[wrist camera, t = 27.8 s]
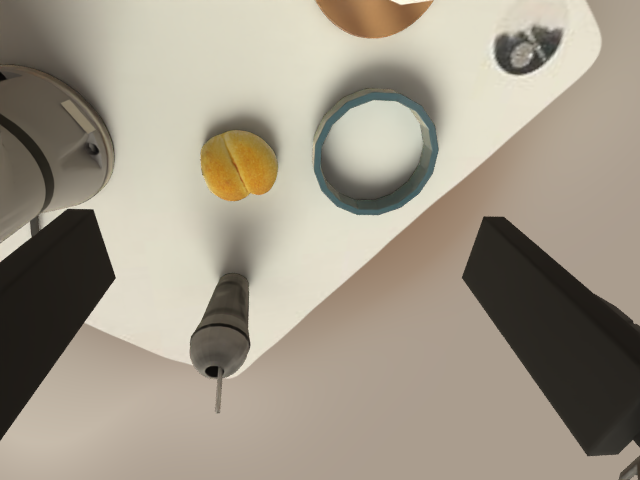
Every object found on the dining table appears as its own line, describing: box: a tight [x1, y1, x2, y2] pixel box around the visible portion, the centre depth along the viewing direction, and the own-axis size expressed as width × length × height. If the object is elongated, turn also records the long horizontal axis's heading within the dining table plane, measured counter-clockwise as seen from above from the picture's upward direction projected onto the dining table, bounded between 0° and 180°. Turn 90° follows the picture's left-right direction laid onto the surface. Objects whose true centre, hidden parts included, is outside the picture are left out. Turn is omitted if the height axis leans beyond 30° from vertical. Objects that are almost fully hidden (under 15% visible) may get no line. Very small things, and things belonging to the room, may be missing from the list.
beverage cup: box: [190, 273, 250, 413], centre depth 43 cm, size 7×7×20 cm
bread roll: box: [200, 130, 278, 201], centre depth 39 cm, size 8×9×4 cm
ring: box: [312, 88, 439, 215], centre depth 40 cm, size 15×15×3 cm
